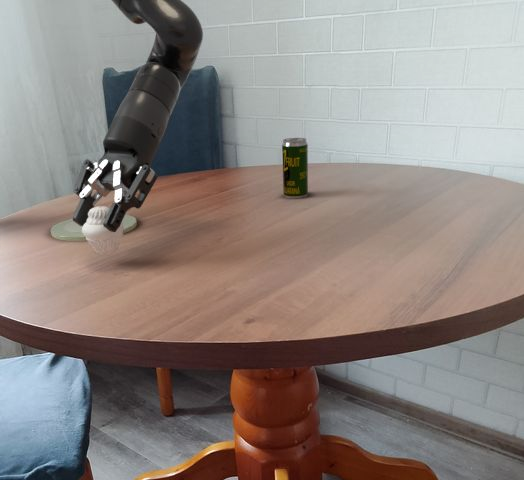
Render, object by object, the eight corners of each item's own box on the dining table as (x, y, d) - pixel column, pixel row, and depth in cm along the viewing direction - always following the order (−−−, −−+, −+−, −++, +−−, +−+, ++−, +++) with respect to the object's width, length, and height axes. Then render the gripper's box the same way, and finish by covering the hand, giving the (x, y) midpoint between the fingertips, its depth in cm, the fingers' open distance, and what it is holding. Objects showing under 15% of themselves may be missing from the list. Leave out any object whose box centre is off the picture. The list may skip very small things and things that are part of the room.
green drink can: (288, 193, 122) (287, 137, 117) (311, 194, 120) (311, 137, 115) (279, 199, 118) (278, 141, 112) (303, 200, 116) (302, 141, 110)
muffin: (128, 242, 87) (121, 198, 83) (126, 255, 81) (118, 208, 78) (89, 246, 86) (80, 202, 83) (84, 259, 81) (74, 212, 77)
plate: (35, 242, 98) (33, 236, 98) (76, 218, 112) (74, 213, 112) (117, 242, 96) (116, 236, 95) (148, 218, 109) (148, 212, 109)
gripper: (88, 113, 83) (43, 208, 81) (158, 114, 76) (110, 218, 74) (119, 144, 90) (78, 233, 87) (186, 148, 83) (143, 245, 80)
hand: (93, 226), depth 80 cm, fingers closed on muffin, 6 cm apart
